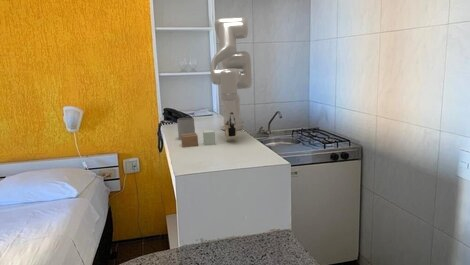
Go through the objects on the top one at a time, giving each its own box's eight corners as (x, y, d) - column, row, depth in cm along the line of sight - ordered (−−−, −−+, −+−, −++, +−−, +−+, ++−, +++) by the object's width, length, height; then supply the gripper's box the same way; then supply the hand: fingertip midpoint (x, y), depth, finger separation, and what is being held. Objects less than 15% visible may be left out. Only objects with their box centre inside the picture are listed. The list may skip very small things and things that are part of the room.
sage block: (203, 143, 177) (203, 130, 176) (214, 142, 178) (213, 130, 176) (204, 145, 172) (203, 132, 171) (215, 144, 173) (214, 131, 172)
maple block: (225, 135, 179) (224, 123, 178) (235, 134, 180) (234, 122, 179) (226, 137, 175) (226, 125, 173) (237, 136, 175) (236, 124, 174)
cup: (192, 140, 185) (190, 120, 183) (176, 140, 186) (174, 120, 185) (197, 136, 193) (195, 117, 191) (182, 136, 195) (180, 117, 193)
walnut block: (181, 144, 177) (180, 134, 176) (196, 143, 178) (195, 132, 177) (183, 147, 170) (182, 137, 169) (198, 146, 171) (197, 135, 170)
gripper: (219, 95, 181) (221, 131, 185) (223, 99, 164) (225, 139, 169) (234, 94, 182) (235, 130, 186) (240, 98, 166) (242, 138, 170)
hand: (231, 134), depth 177 cm, fingers closed on maple block, 5 cm apart
